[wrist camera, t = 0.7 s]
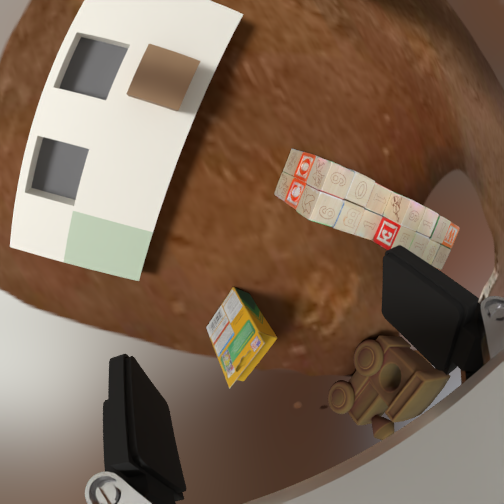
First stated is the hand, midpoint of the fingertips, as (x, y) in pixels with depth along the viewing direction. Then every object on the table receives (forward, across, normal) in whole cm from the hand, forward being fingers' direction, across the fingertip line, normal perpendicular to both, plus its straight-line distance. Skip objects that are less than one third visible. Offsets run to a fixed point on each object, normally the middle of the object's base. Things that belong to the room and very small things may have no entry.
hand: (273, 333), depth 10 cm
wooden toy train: (+26, -21, +46) cm, 57 cm away
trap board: (+26, +6, -8) cm, 28 cm away
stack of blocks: (+27, -20, +9) cm, 35 cm away
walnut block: (+24, 0, -11) cm, 26 cm away
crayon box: (+26, 0, +19) cm, 33 cm away
